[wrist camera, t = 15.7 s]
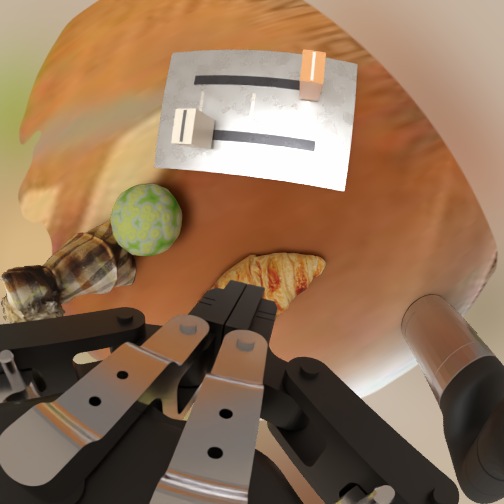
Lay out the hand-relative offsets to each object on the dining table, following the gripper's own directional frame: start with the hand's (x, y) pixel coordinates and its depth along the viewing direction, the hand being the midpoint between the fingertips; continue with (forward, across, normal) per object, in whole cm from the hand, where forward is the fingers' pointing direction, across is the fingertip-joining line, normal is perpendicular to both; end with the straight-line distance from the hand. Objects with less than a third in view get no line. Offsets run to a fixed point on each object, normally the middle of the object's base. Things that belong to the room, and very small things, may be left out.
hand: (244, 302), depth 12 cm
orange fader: (+24, 0, -18) cm, 30 cm away
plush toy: (+26, +27, +12) cm, 39 cm away
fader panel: (+26, +7, -13) cm, 30 cm away
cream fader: (+24, +12, -9) cm, 28 cm away
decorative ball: (+26, +18, +3) cm, 32 cm away
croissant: (+27, +2, +11) cm, 29 cm away
